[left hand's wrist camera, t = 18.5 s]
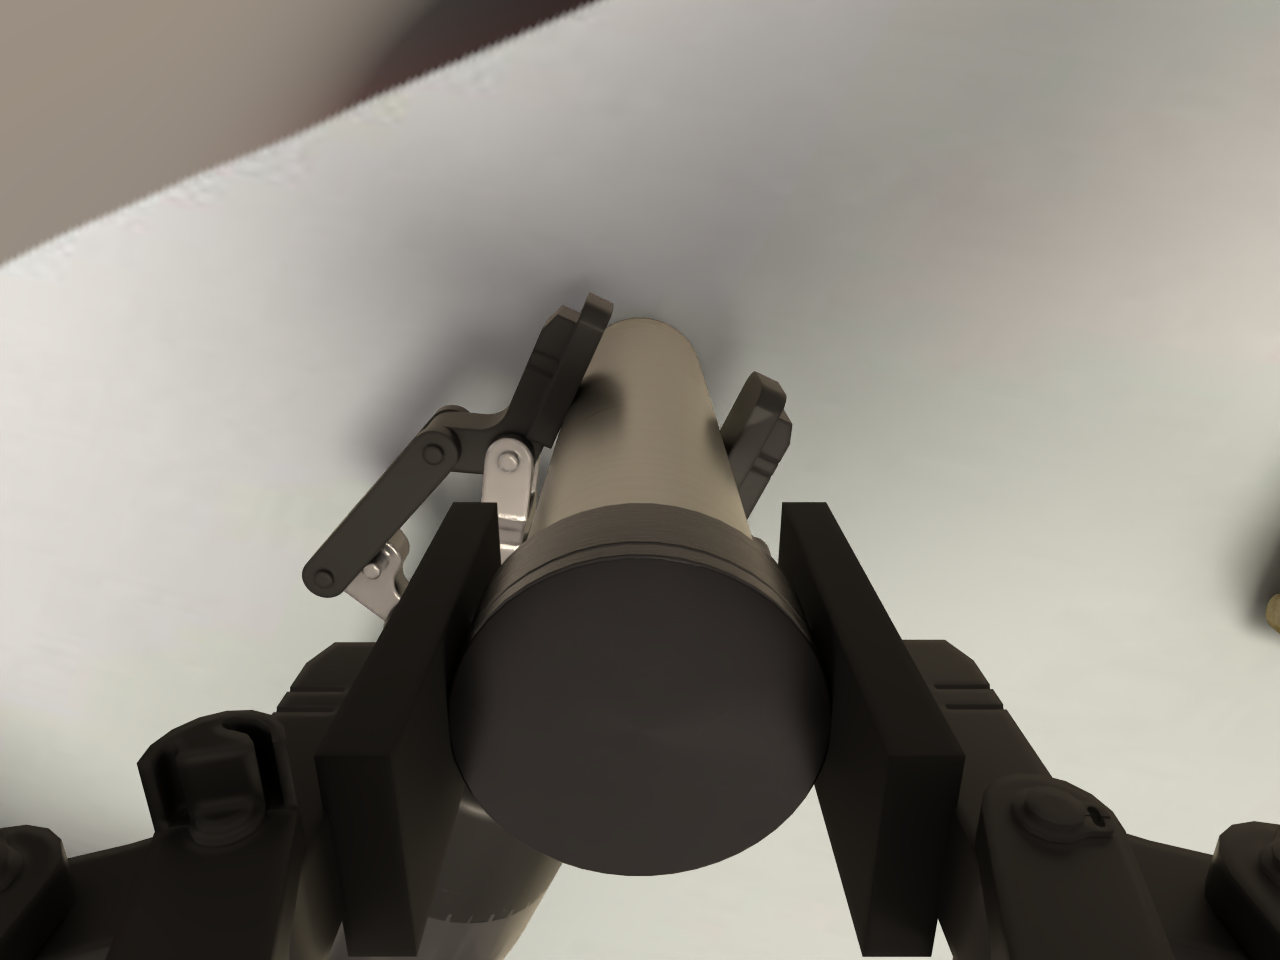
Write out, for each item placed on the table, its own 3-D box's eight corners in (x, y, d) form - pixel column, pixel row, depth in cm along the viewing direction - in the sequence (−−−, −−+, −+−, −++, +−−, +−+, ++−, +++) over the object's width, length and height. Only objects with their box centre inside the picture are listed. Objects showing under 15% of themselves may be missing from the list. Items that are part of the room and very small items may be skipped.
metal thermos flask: (650, 460, 29) (665, 864, 12) (553, 390, 28) (426, 722, 11) (726, 368, 28) (858, 676, 11) (628, 291, 27) (609, 500, 10)
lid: (832, 513, 11) (864, 569, 10) (784, 800, 13) (804, 886, 12) (470, 489, 11) (442, 542, 10) (471, 782, 13) (448, 867, 11)
